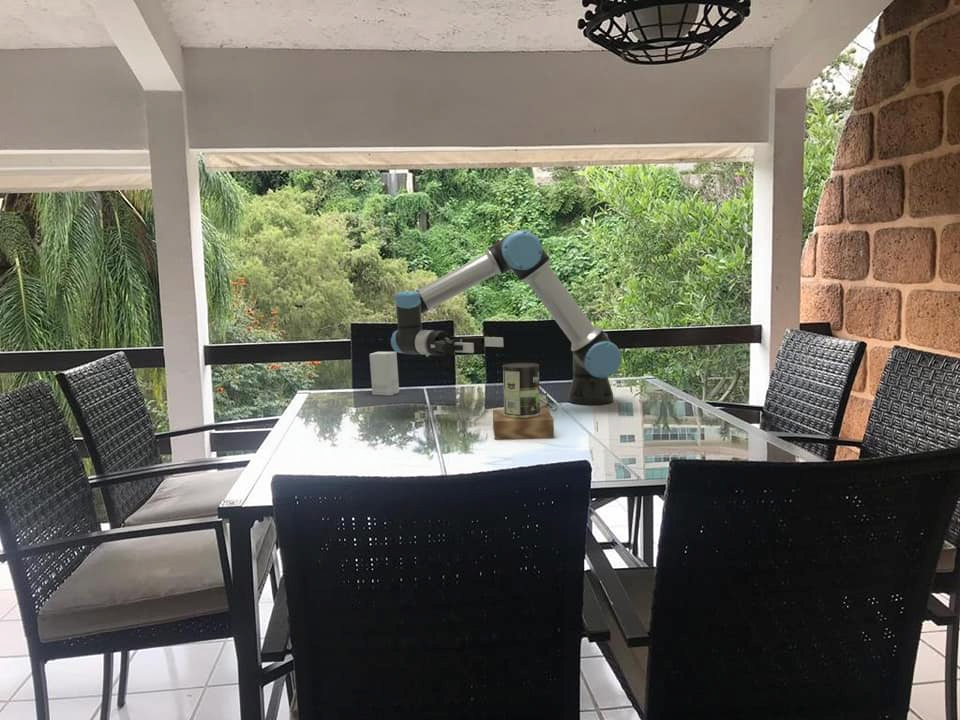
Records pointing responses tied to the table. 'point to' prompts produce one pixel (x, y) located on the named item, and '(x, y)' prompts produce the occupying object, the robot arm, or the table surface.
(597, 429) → the table surface
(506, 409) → the coffee can
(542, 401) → the game die
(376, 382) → the skincare box
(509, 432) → the teak block
